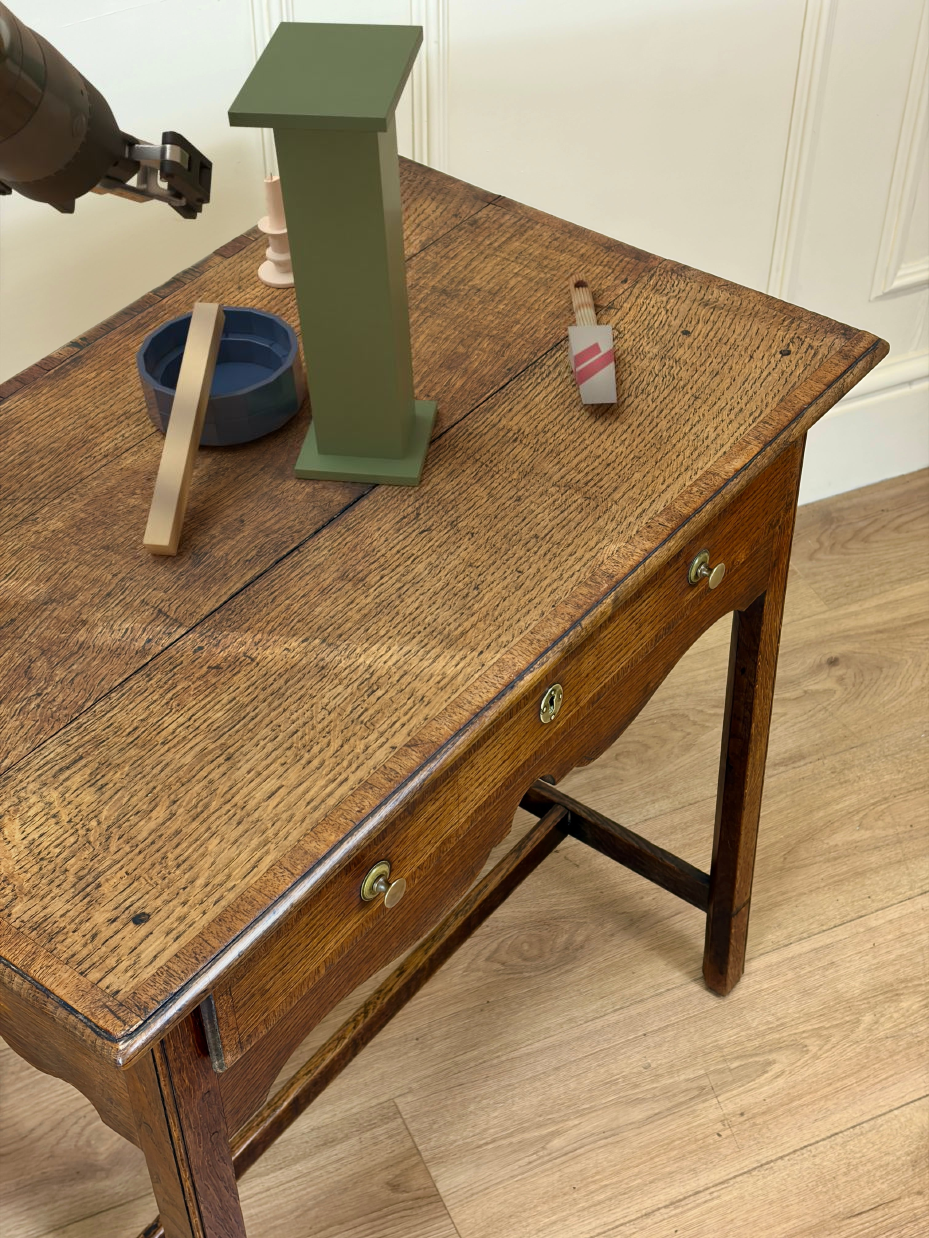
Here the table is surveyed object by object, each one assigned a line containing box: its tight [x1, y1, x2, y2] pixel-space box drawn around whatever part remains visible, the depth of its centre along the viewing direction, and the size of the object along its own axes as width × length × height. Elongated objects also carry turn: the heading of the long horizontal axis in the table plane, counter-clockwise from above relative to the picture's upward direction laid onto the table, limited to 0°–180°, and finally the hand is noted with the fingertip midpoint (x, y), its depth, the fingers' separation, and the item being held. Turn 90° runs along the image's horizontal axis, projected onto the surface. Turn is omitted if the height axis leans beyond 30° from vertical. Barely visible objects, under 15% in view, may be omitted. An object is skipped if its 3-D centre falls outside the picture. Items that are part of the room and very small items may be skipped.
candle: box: [257, 172, 295, 289], centre depth 122 cm, size 5×5×10 cm
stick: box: [142, 301, 225, 557], centre depth 101 cm, size 21×2×2 cm, turn 172°
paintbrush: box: [567, 272, 618, 405], centre depth 114 cm, size 4×3×20 cm
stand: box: [227, 21, 439, 487], centre depth 96 cm, size 10×14×31 cm
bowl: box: [135, 305, 307, 447], centre depth 109 cm, size 13×13×6 cm
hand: (131, 201), depth 87 cm, fingers open, 8 cm apart
